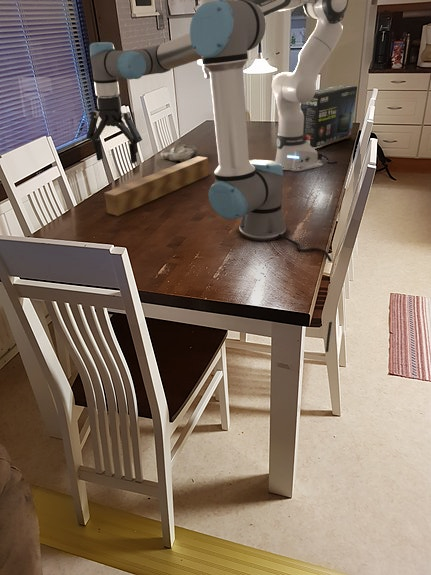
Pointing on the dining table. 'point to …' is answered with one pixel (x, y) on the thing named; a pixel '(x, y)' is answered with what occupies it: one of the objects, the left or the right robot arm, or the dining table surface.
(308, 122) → the router box
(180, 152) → the fossil
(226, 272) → the dining table surface
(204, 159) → the post
